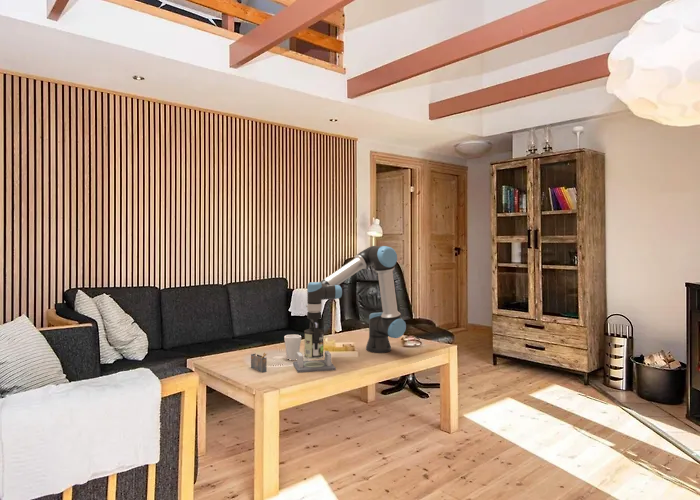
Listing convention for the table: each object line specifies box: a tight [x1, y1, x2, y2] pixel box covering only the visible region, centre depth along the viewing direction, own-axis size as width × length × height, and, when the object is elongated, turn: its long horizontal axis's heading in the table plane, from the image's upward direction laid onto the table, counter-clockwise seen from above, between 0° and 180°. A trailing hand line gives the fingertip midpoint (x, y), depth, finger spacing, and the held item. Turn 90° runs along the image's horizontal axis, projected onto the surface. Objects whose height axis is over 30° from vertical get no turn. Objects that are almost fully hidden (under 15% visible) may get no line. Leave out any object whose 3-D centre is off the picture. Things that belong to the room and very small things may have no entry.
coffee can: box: [303, 328, 325, 360], centre depth 255 cm, size 10×10×14 cm
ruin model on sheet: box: [250, 352, 268, 373], centre depth 250 cm, size 11×3×10 cm, turn 41°
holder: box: [292, 350, 337, 374], centre depth 256 cm, size 20×17×7 cm
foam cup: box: [283, 334, 302, 361], centre depth 271 cm, size 10×9×13 cm
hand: (313, 353), depth 255 cm, fingers closed on coffee can, 10 cm apart
